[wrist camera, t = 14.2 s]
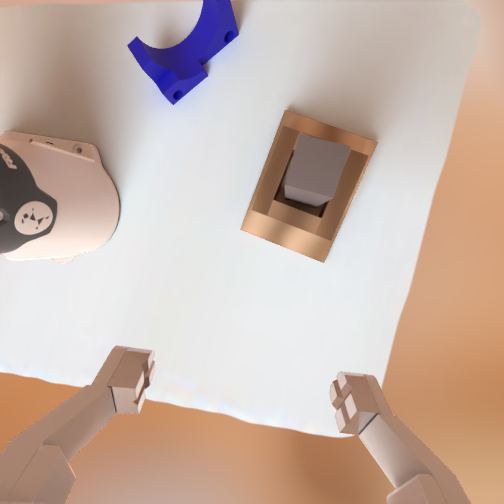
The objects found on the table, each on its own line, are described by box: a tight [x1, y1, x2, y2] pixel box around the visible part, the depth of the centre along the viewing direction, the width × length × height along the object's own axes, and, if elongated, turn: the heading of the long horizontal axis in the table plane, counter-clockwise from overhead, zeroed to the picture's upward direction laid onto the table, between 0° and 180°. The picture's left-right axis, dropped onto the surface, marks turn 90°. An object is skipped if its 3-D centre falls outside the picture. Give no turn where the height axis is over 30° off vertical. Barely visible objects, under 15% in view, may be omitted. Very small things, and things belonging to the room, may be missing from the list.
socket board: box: [240, 110, 378, 263], centre depth 29 cm, size 12×16×4 cm
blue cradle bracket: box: [127, 0, 239, 105], centre depth 29 cm, size 12×4×6 cm, turn 123°
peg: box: [285, 134, 350, 208], centre depth 25 cm, size 4×4×12 cm
